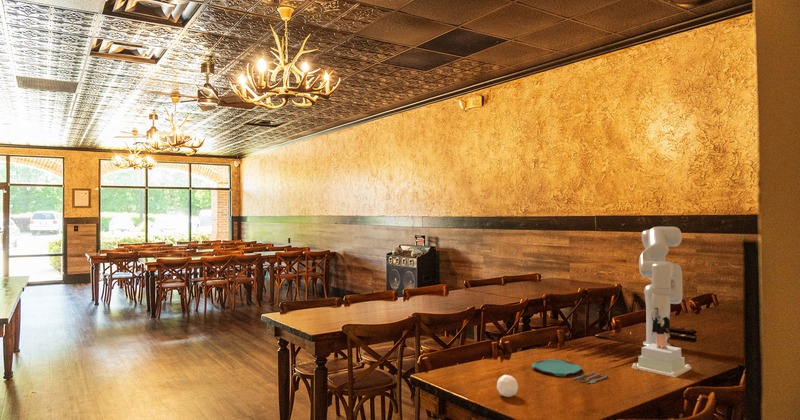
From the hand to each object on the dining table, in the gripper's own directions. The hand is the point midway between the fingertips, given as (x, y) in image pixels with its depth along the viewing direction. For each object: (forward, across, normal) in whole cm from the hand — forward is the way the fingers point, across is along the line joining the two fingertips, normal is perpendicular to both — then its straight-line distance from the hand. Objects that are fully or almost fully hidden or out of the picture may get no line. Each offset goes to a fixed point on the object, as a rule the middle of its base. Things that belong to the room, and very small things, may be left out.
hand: (661, 330), depth 229 cm
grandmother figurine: (+8, +1, 0) cm, 8 cm away
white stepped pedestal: (+17, 0, 0) cm, 17 cm away
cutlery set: (+17, +37, -24) cm, 47 cm away
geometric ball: (+16, +80, -24) cm, 84 cm away
